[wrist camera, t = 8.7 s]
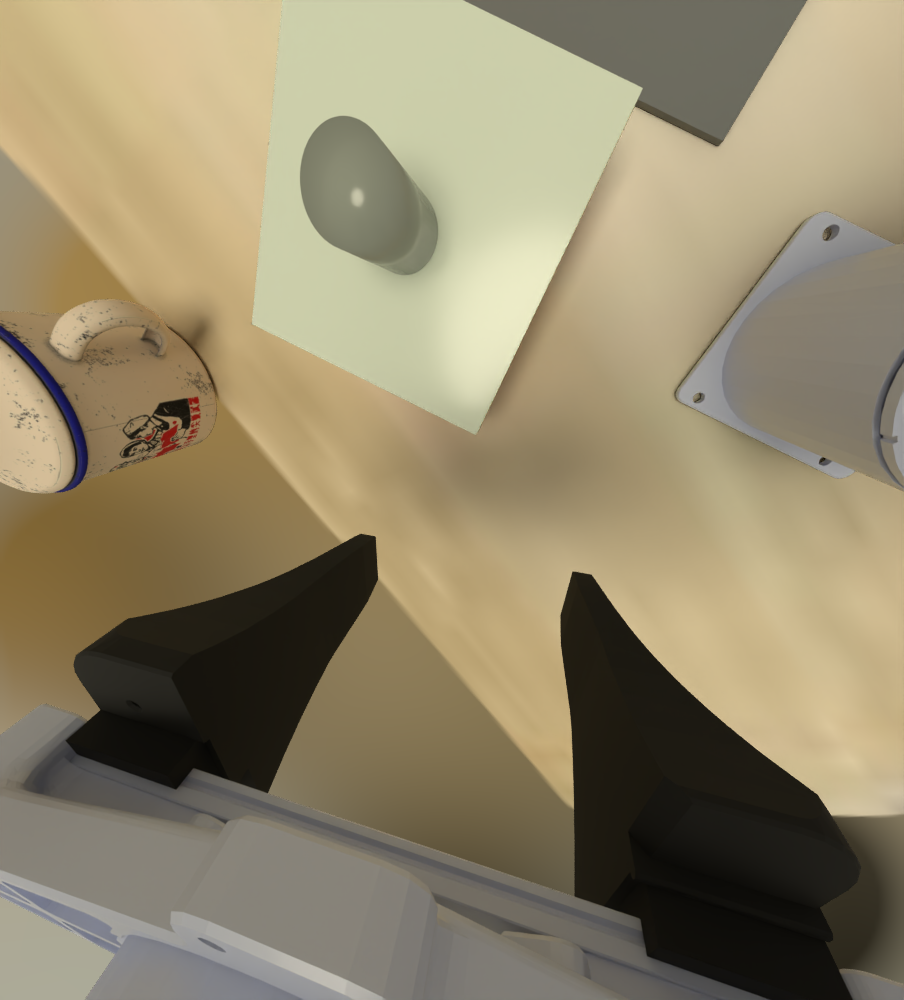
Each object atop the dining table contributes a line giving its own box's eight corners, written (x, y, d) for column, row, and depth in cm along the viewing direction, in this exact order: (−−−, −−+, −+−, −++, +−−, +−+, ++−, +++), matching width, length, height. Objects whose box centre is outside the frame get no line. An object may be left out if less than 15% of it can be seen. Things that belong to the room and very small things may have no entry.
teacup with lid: (187, 468, 27) (-24, 549, 17) (92, 370, 25) (-218, 395, 15) (268, 376, 22) (36, 412, 12) (158, 243, 20) (-247, 144, 9)
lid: (635, 104, 11) (711, -70, 6) (478, 431, 17) (456, 467, 12) (306, -58, 11) (135, -348, 6) (263, 324, 17) (158, 320, 12)
